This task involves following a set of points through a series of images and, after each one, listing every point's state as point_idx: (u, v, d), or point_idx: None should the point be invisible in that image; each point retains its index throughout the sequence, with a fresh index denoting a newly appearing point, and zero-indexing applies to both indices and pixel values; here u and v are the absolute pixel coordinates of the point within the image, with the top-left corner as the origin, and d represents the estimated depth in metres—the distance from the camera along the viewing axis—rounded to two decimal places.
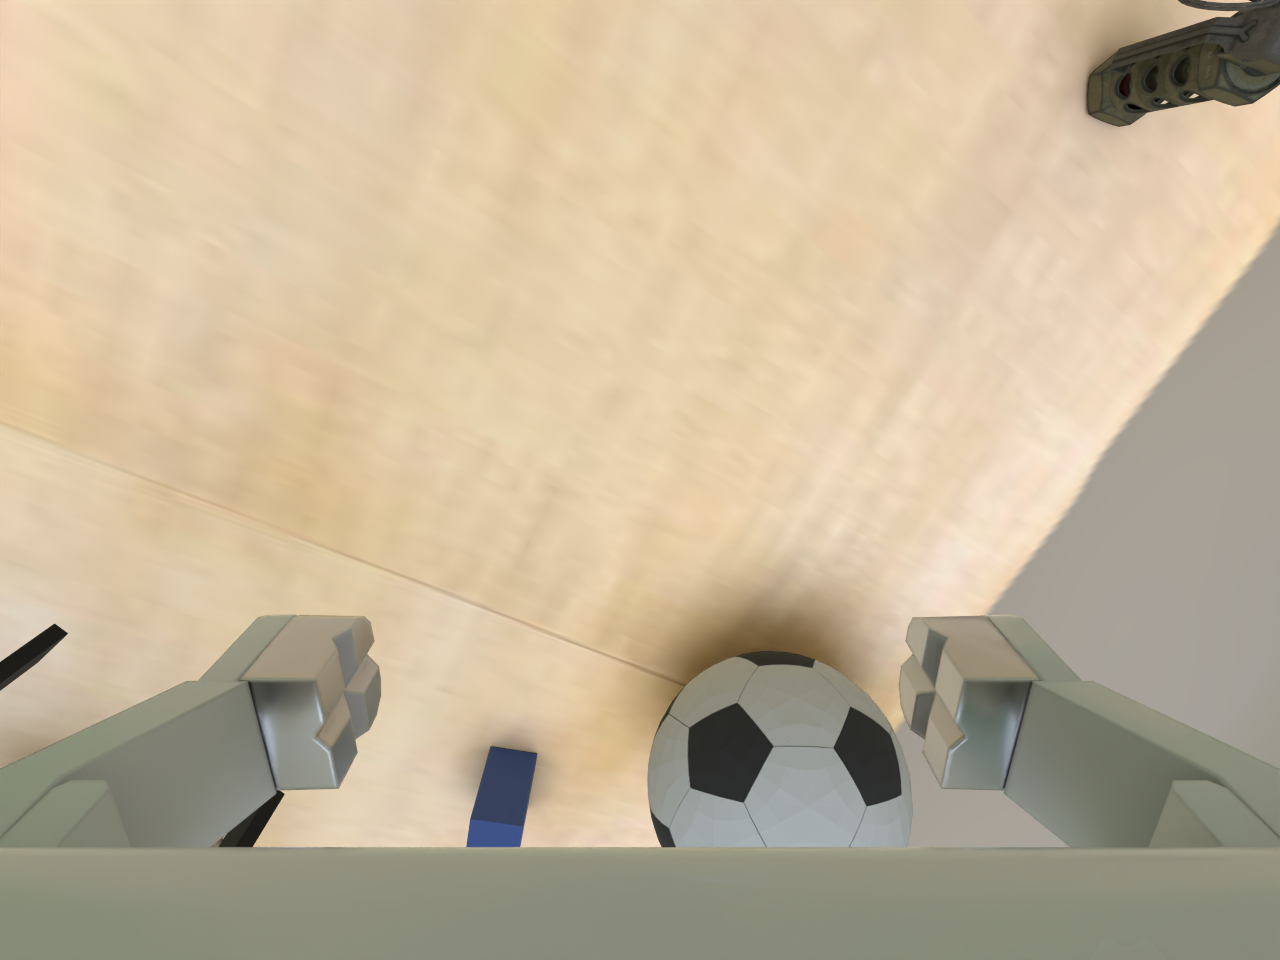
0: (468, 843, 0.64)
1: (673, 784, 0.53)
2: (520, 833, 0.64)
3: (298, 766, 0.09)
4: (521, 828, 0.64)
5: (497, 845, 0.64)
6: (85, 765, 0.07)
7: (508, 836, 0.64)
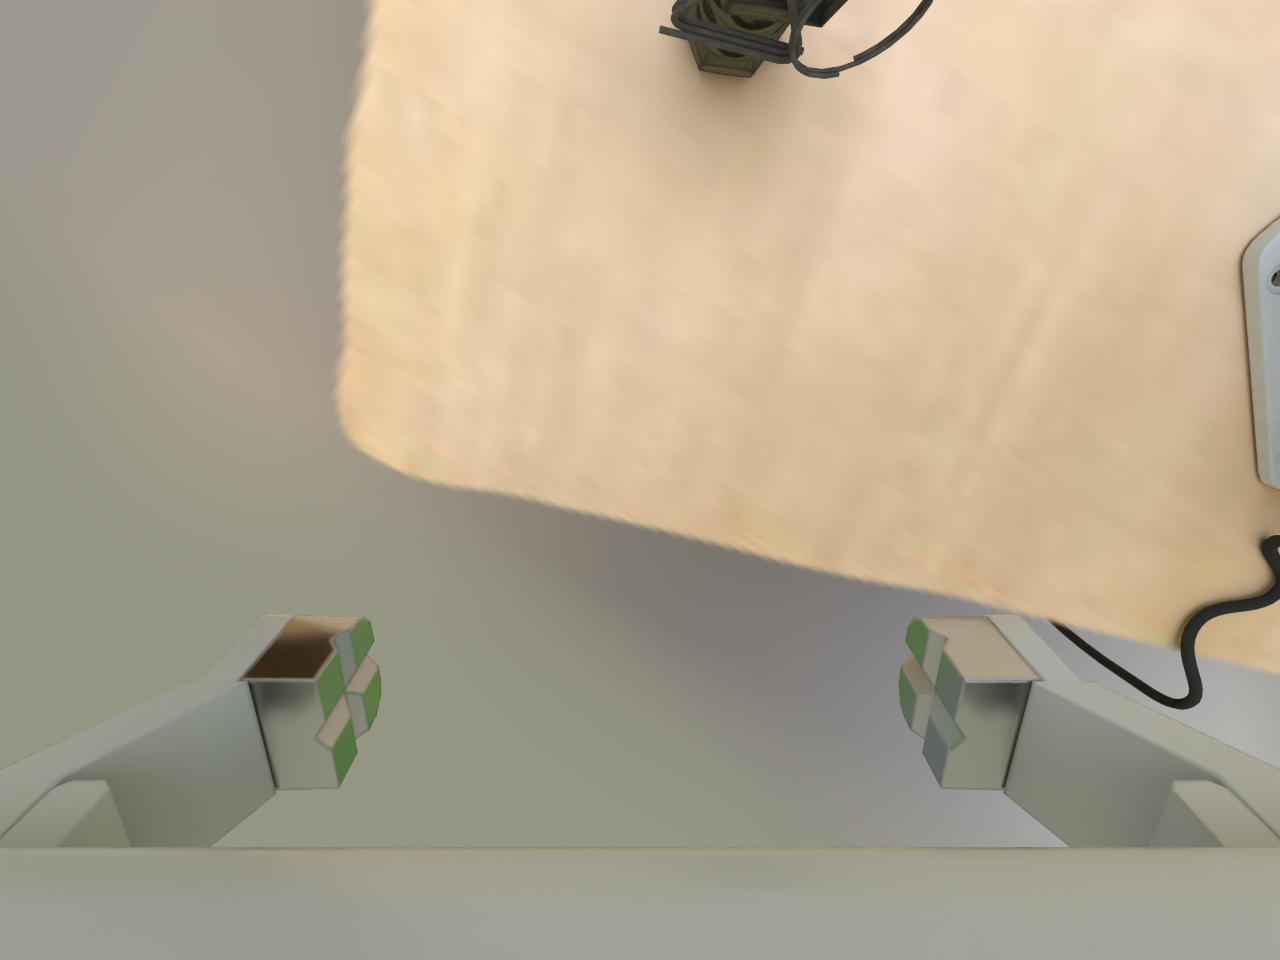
0: None
1: None
2: None
3: (298, 766, 0.09)
4: None
5: None
6: (85, 765, 0.07)
7: None
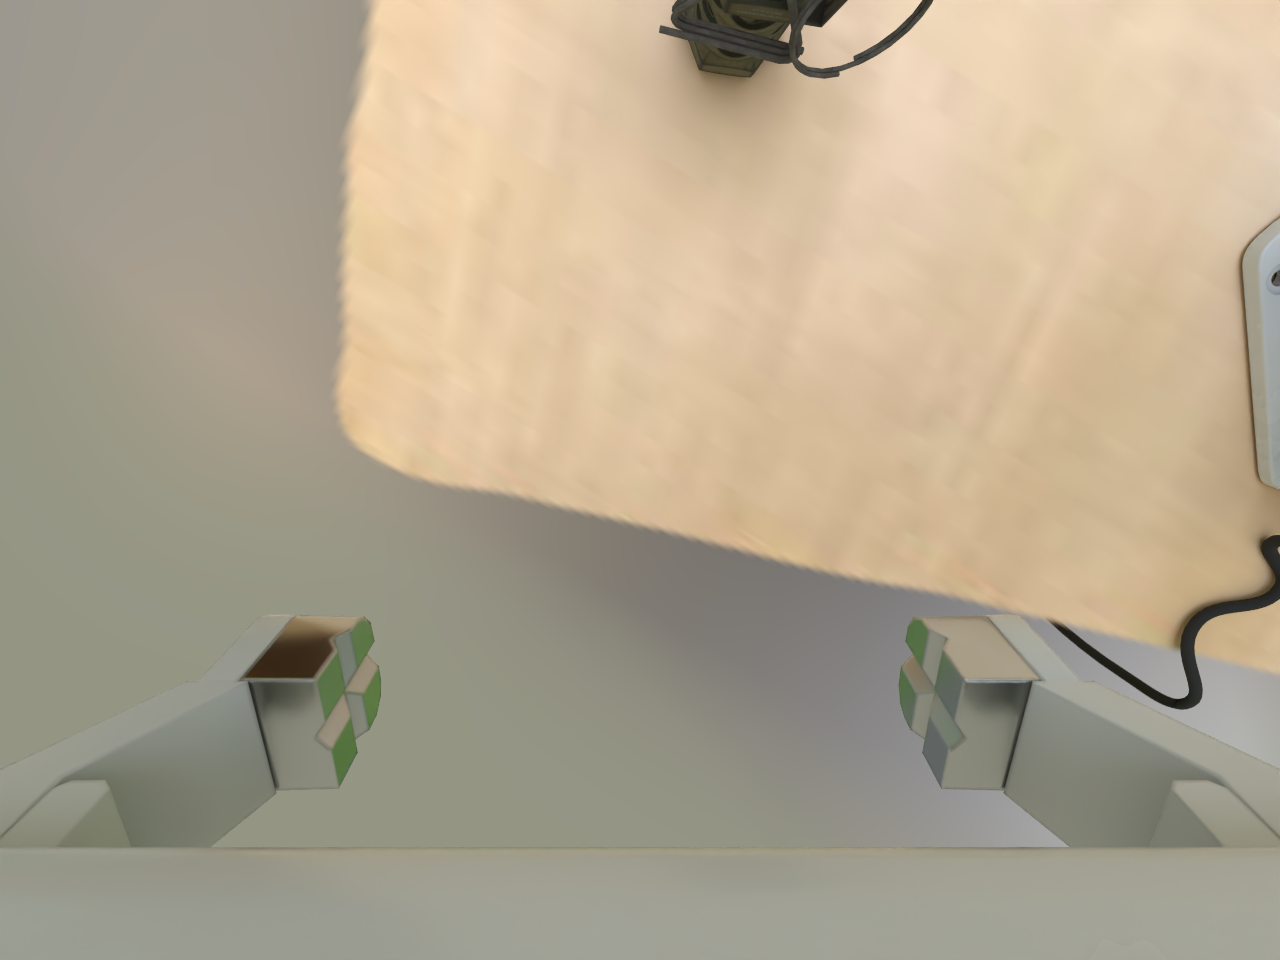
0: None
1: None
2: None
3: (298, 766, 0.09)
4: None
5: None
6: (85, 765, 0.07)
7: None
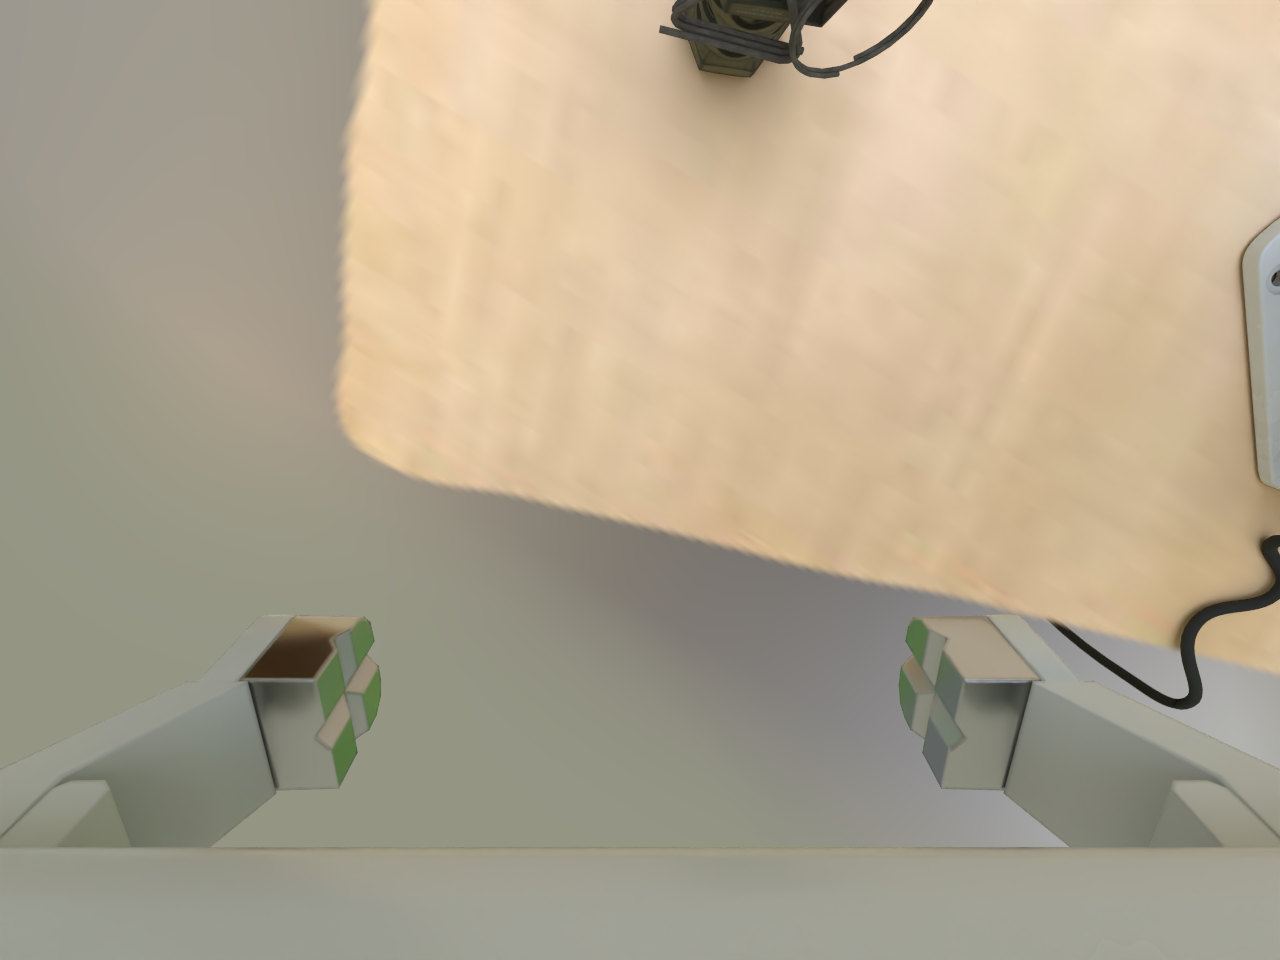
0: None
1: None
2: None
3: (298, 766, 0.09)
4: None
5: None
6: (85, 765, 0.07)
7: None
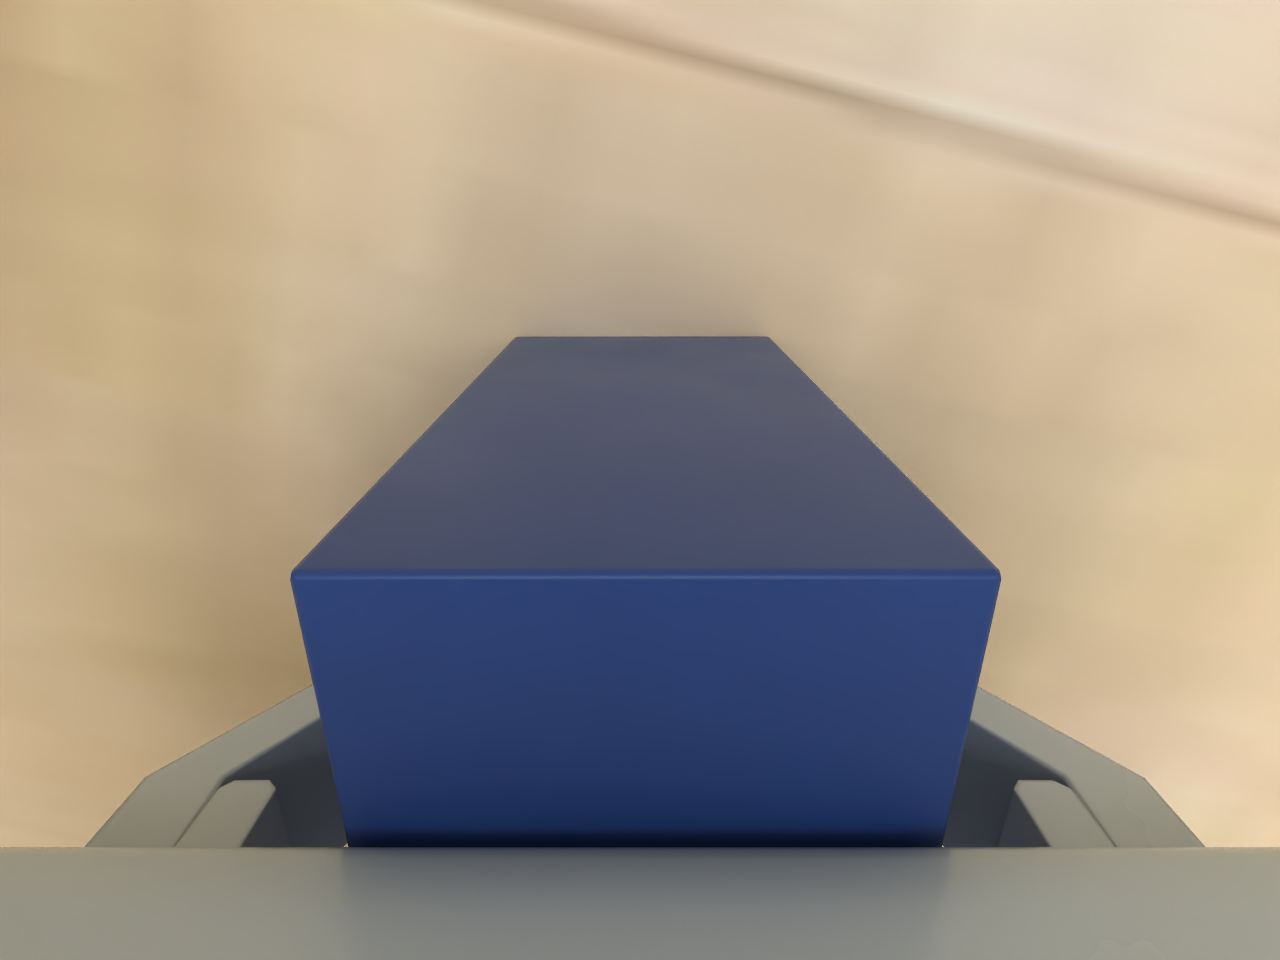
0: None
1: None
2: None
3: None
4: None
5: None
6: (243, 765, 0.07)
7: None
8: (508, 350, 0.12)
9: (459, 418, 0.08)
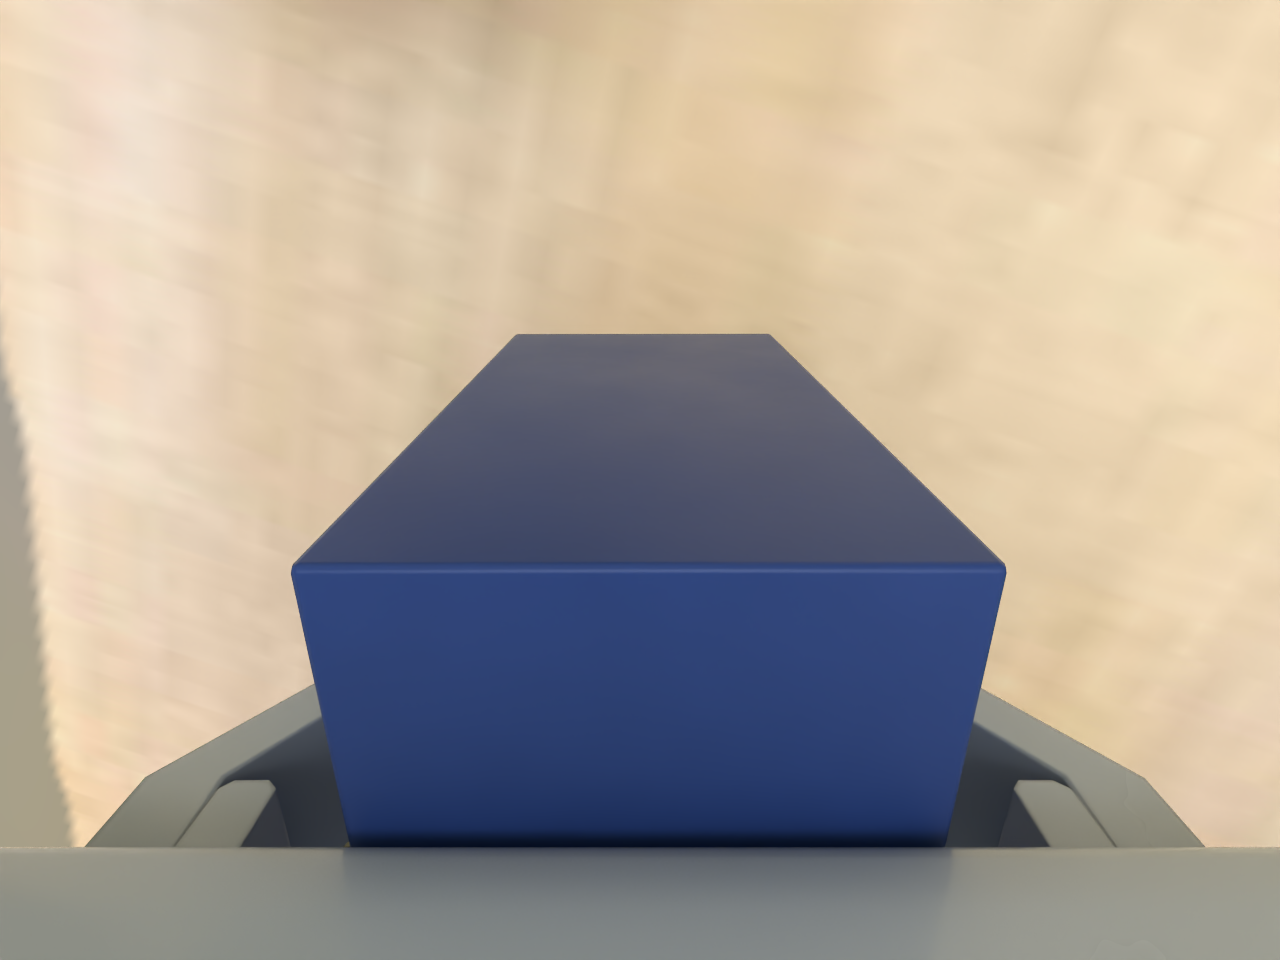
0: None
1: None
2: None
3: None
4: None
5: None
6: (243, 765, 0.07)
7: None
8: (509, 347, 0.12)
9: (460, 414, 0.08)
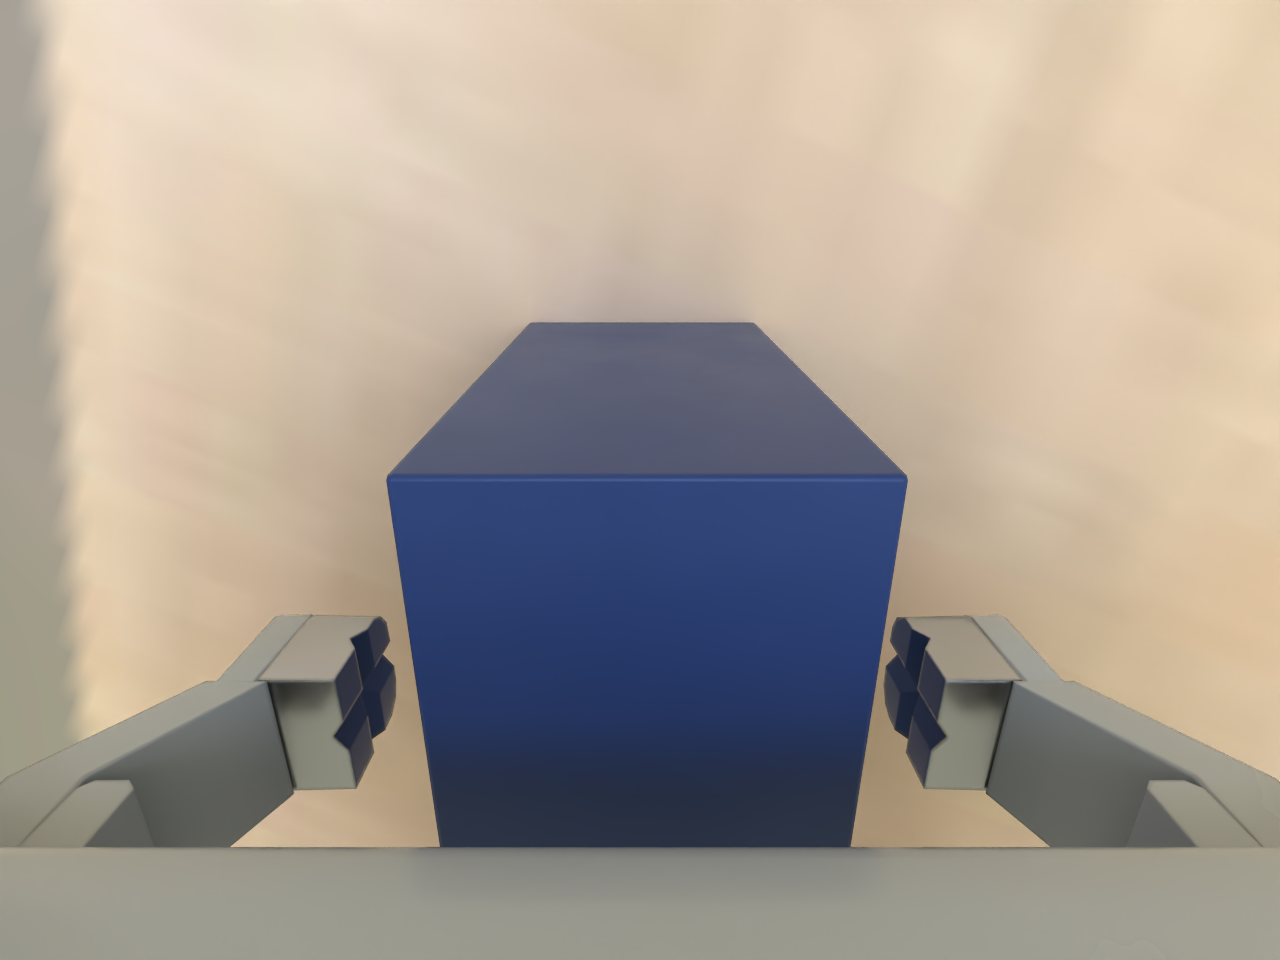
0: (840, 841, 0.08)
1: None
2: None
3: (316, 766, 0.09)
4: None
5: None
6: (108, 765, 0.07)
7: None
8: (525, 333, 0.14)
9: (492, 382, 0.10)
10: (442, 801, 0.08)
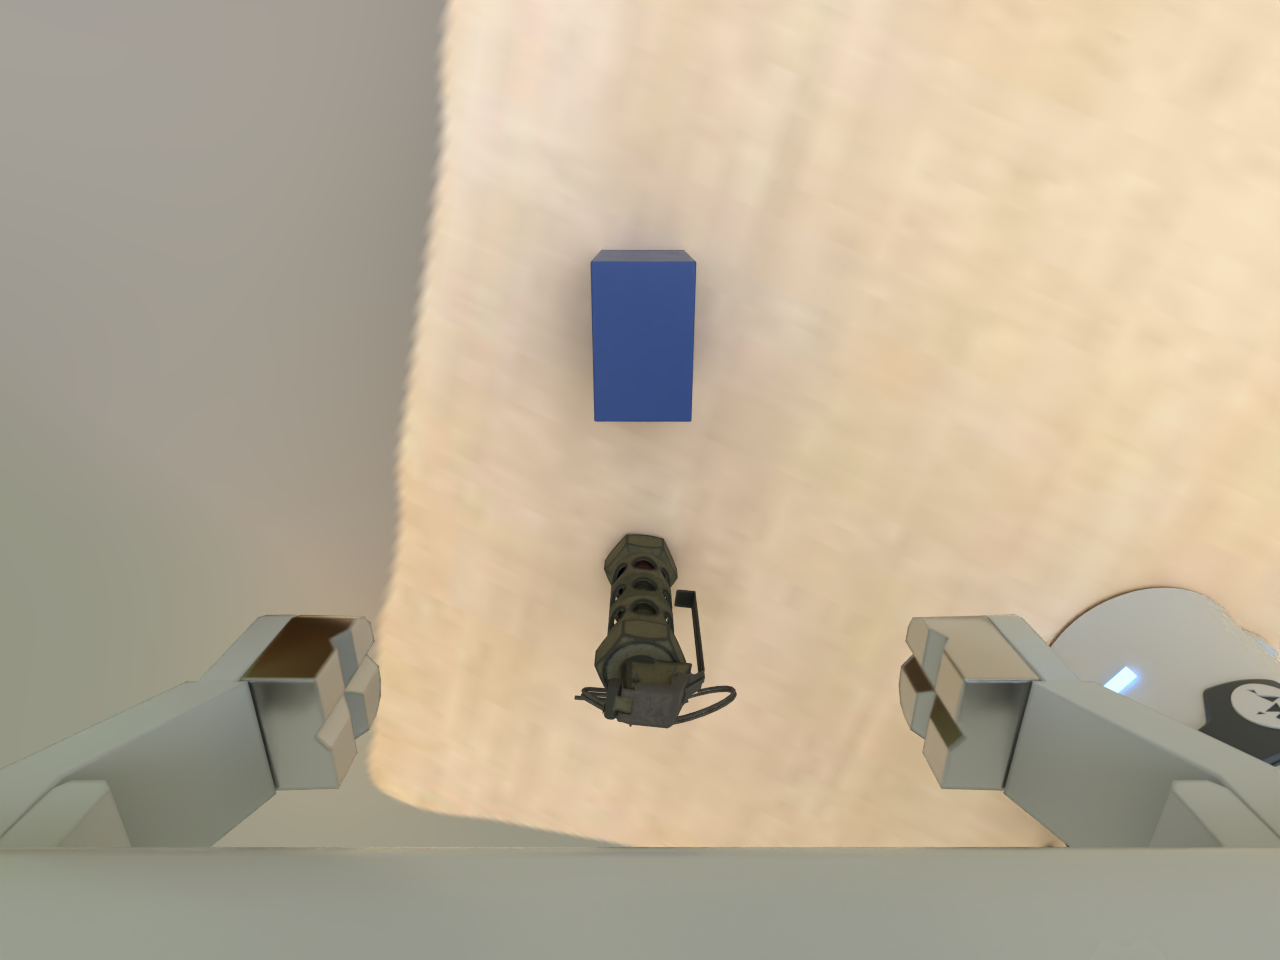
0: (690, 361, 0.34)
1: None
2: (597, 405, 0.35)
3: (298, 766, 0.09)
4: (597, 416, 0.35)
5: (635, 366, 0.34)
6: (85, 765, 0.07)
7: (617, 392, 0.34)
8: (602, 251, 0.39)
9: (601, 256, 0.35)
10: (595, 347, 0.33)
